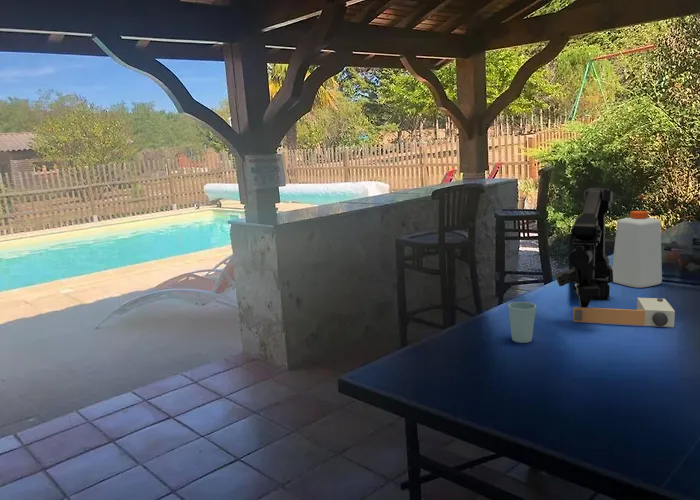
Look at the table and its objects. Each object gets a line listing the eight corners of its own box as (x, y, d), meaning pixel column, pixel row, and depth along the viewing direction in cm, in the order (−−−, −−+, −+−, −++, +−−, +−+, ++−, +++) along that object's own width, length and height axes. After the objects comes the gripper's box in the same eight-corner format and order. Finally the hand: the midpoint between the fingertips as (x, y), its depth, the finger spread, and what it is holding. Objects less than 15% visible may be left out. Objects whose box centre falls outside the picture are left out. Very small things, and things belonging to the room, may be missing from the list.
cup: (514, 345, 162) (515, 309, 160) (503, 336, 169) (504, 302, 167) (540, 343, 163) (540, 307, 161) (528, 334, 170) (528, 300, 168)
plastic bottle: (605, 281, 226) (608, 211, 221) (632, 276, 232) (635, 208, 227) (639, 289, 213) (642, 215, 207) (666, 284, 219) (671, 211, 214)
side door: (644, 326, 171) (645, 311, 170) (573, 322, 178) (573, 308, 177) (643, 324, 173) (644, 310, 172) (572, 320, 179) (573, 306, 178)
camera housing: (644, 327, 172) (645, 309, 171) (636, 312, 186) (637, 295, 185) (674, 328, 170) (676, 310, 168) (664, 313, 184) (665, 296, 183)
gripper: (553, 256, 187) (552, 302, 190) (561, 268, 169) (560, 319, 172) (589, 256, 185) (588, 302, 188) (601, 268, 167) (599, 320, 170)
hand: (583, 310), depth 179 cm, fingers closed
